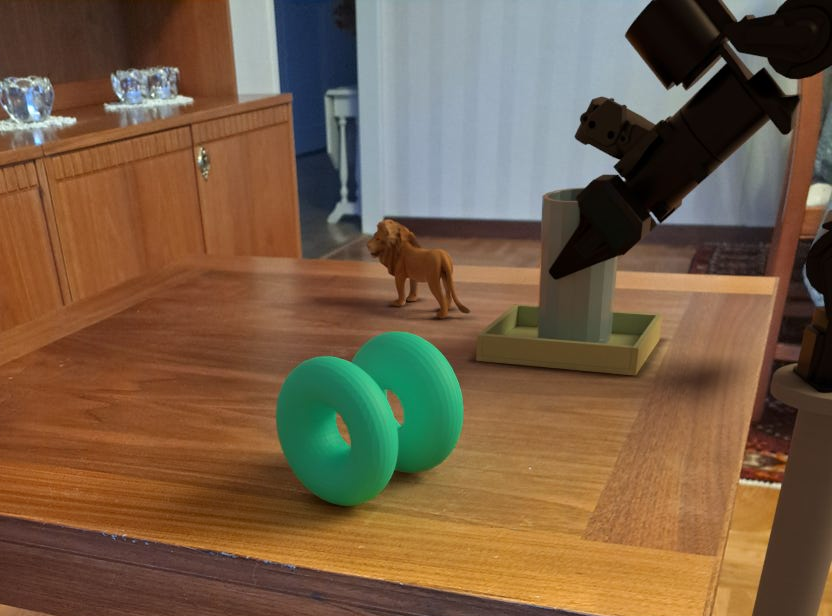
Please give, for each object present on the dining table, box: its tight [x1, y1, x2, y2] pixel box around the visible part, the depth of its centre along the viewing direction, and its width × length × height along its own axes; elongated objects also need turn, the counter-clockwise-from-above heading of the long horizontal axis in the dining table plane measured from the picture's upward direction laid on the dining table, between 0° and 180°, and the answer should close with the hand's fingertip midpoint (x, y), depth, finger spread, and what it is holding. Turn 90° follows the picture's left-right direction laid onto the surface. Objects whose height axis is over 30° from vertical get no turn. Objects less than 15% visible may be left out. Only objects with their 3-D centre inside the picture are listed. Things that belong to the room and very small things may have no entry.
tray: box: [475, 303, 664, 377], centre depth 92 cm, size 15×12×2 cm
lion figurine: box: [365, 219, 471, 319], centre depth 107 cm, size 15×5×9 cm, turn 43°
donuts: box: [275, 330, 465, 507], centre depth 65 cm, size 10×10×10 cm
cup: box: [537, 186, 619, 344], centre depth 89 cm, size 7×7×13 cm
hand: (563, 267), depth 89 cm, fingers closed on cup, 7 cm apart
